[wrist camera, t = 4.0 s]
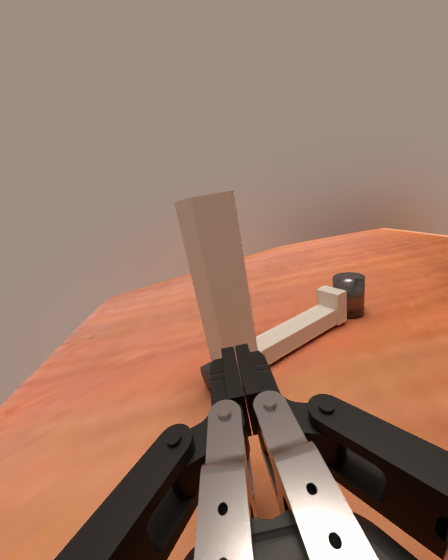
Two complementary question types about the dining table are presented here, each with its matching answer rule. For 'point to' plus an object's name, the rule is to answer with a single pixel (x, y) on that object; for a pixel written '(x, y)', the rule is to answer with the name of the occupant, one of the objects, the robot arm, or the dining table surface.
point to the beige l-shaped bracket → (240, 286)
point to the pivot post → (352, 292)
